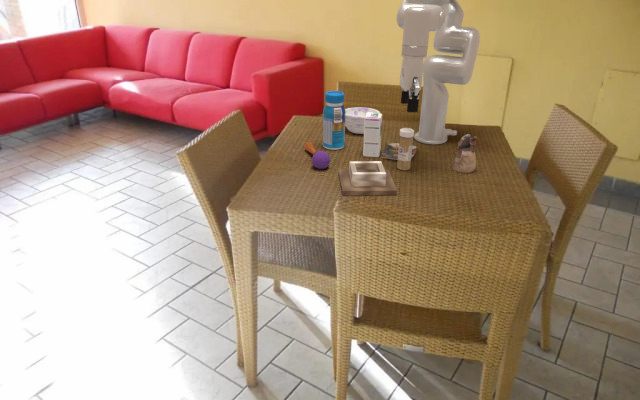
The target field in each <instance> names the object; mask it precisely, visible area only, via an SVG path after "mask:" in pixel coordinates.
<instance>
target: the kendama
mask: <svg viewBox="0 0 640 400" xmlns="http://www.w3.org/2000/svg"><path fill="white" fill-rule="evenodd" d="M303 147H304V150H306V151H307V152H309V153H310V154H311V155H312V157H311V162H312V165H313V166H314V167H315V168H316V169H318V170H323V169H326V168H327V167H328V166H330V162H331V157H330V155H329V153H327V152H326V151H323V150H316V148H315V145H314V143H312V142H311V141H307V142H306V143H304V145H303Z"/></svg>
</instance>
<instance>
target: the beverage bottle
mask: <svg viewBox="0 0 640 400" xmlns="http://www.w3.org/2000/svg"><path fill="white" fill-rule="evenodd" d="M324 96H325V97H324V98H325V99H324V100H325V105H324V108H323V110H322V113H323V116H322V122H323V123H322V131H323V132H322V147H323V148H324V149H327V150H331V151H335V150H336V151H337V150H341V149H344V147H346V144H345V137H346V136H345V135H346V134H345V133H346V126H345V122H346V117H345V114H346V110H345V109H346V107H345V106H344V102H345V93H344V92H343V91H341V90H329V91H326V92H325V94H324Z"/></svg>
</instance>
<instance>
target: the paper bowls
mask: <svg viewBox="0 0 640 400" xmlns="http://www.w3.org/2000/svg"><path fill="white" fill-rule="evenodd" d="M345 110H346V114H345V117H346V122H345V128H346V129H347V131H348V132H350V133H353V134H356V135H357V134H358V135H364V117H365V115H366V113H370V112H374V113H381V111H379V110H378V109H376V108H371V107H363V106H362V107H360V106H359V107H358V106H357V107H356V106H355V107H348V108H345Z"/></svg>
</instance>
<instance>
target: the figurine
mask: <svg viewBox="0 0 640 400" xmlns="http://www.w3.org/2000/svg"><path fill="white" fill-rule="evenodd" d="M477 137H478V136H476V135H474V136H472V135H471V134H469V133H467V134H465V135H463V136H462V137H461V138H460V140H459V141H458V142H457V148H456V150H457V152H456V155H455V159H454V161H453V166H452V169H453V170H454V172H458V173H463V174H468V173H470V174H471V173H473V172H474V171H475V170H476V166H477V165H476V164H477V163H476V162H477V161H476V159H477V158H476V149H477V147H478V146H477V145H478V144H477V142H476V139H478V138H477Z"/></svg>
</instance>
